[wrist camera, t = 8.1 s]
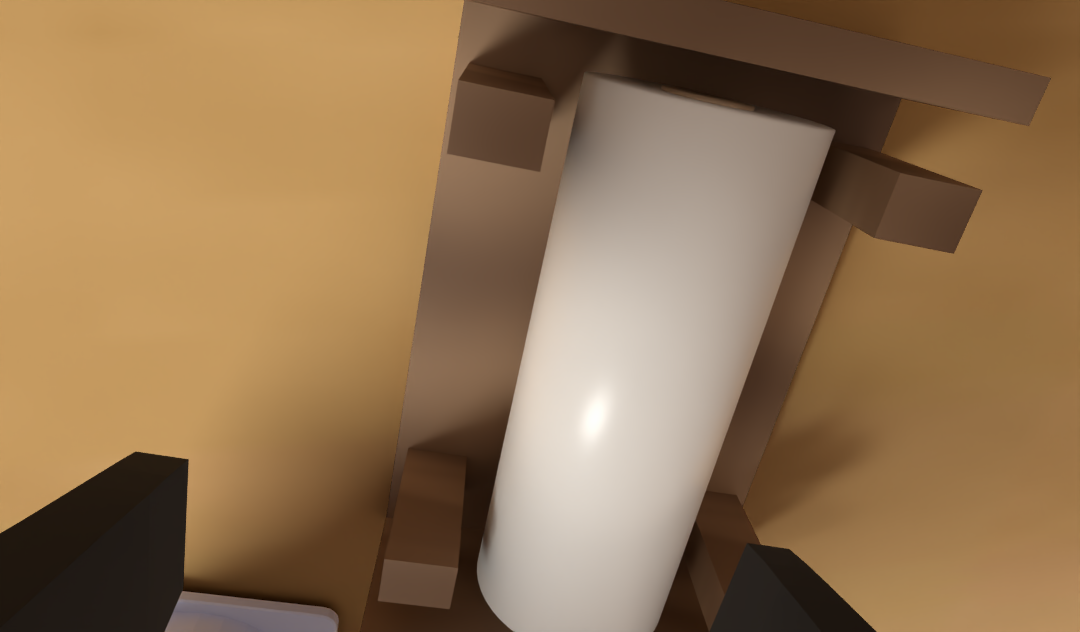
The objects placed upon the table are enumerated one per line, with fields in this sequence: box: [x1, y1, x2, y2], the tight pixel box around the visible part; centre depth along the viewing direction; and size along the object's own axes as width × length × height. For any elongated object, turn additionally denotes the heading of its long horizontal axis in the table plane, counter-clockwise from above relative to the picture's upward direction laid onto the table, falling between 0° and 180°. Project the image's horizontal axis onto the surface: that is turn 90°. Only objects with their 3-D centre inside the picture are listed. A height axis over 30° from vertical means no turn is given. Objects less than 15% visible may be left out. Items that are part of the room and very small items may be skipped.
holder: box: [360, 0, 1051, 632], centre depth 16 cm, size 15×10×5 cm, turn 168°
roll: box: [477, 72, 835, 632], centre depth 16 cm, size 12×5×5 cm, turn 168°
